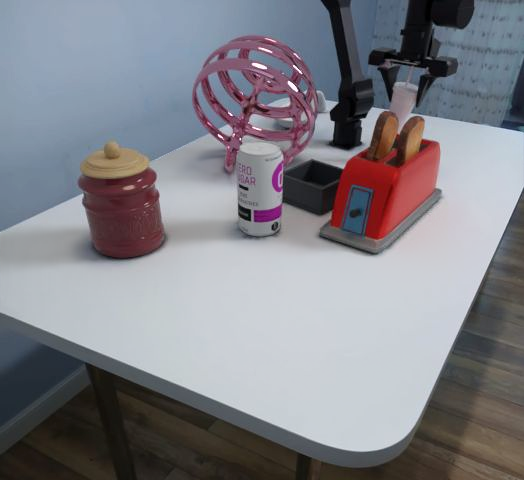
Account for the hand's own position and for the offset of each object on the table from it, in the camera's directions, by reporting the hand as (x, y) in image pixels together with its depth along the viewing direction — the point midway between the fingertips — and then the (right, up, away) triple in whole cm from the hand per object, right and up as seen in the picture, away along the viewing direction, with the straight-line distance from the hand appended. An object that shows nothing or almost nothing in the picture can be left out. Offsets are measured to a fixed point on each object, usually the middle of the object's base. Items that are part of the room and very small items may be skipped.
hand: (404, 104), depth 112 cm
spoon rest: (-21, +11, +33) cm, 40 cm away
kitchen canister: (-57, -36, -22) cm, 71 cm away
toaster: (-8, -29, -13) cm, 33 cm away
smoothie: (-1, -4, +4) cm, 6 cm away
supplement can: (-33, -33, -18) cm, 50 cm away
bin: (-21, -24, -8) cm, 33 cm away
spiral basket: (-33, -11, +7) cm, 36 cm away
